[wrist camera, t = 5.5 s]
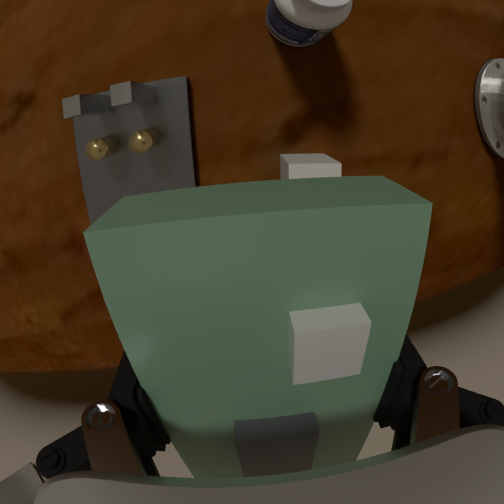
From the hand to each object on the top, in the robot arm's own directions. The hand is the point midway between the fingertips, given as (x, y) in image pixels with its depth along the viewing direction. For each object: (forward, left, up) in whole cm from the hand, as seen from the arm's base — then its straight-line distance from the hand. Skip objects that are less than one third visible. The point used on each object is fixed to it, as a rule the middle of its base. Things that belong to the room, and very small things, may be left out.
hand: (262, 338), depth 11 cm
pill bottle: (-5, -16, -19) cm, 25 cm away
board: (0, 0, +1) cm, 1 cm away
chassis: (+10, -2, -18) cm, 21 cm away
